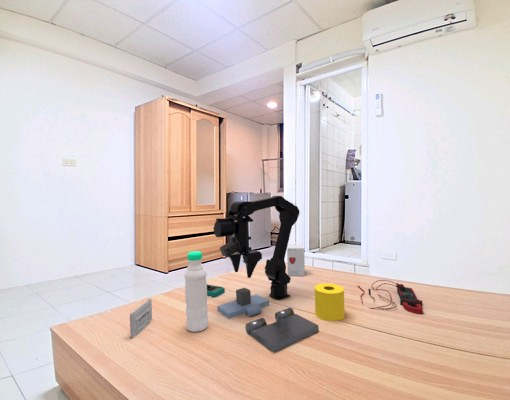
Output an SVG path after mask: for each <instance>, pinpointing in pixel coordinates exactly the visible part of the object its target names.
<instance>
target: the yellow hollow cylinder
mask: <svg viewBox="0 0 510 400" xmlns="http://www.w3.org/2000/svg"><path fill="white" fill-rule="evenodd" d="M314 314H315V316H316V317H317V318H319V319H320V320H323V321H327V322H338V321H342V320H343V319H345V316H346V315H345V289H344V287H343V286H342V285H340V284H335V283H328V282H327V283H326V282H325V283H320V284H319V283H318V284H316V285H315V286H314Z"/></svg>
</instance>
